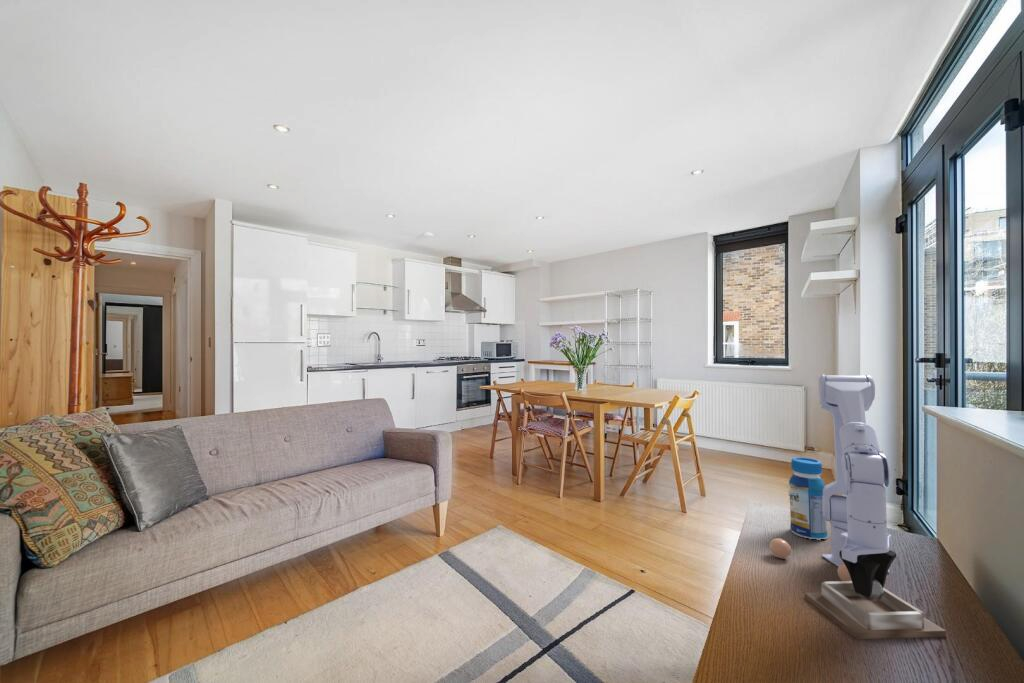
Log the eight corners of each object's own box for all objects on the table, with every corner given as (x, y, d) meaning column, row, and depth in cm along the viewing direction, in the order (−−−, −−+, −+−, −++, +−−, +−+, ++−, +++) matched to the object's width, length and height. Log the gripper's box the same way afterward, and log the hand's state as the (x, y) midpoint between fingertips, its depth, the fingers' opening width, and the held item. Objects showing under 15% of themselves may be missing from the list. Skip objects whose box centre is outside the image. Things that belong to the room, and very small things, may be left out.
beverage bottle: (830, 544, 105) (827, 465, 106) (790, 536, 110) (788, 461, 110) (826, 531, 112) (823, 458, 113) (789, 525, 117) (786, 454, 117)
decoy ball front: (783, 552, 101) (782, 534, 101) (795, 562, 97) (795, 543, 97) (765, 553, 101) (765, 535, 101) (777, 562, 96) (776, 543, 97)
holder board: (882, 595, 83) (881, 578, 83) (946, 636, 71) (945, 616, 71) (804, 597, 83) (804, 580, 83) (855, 639, 71) (854, 618, 71)
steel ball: (858, 591, 80) (858, 568, 80) (887, 603, 76) (887, 578, 76) (848, 596, 78) (848, 572, 78) (877, 608, 74) (878, 583, 74)
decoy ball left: (852, 579, 89) (851, 558, 89) (870, 590, 85) (869, 569, 85) (832, 579, 89) (831, 559, 89) (849, 591, 85) (848, 569, 85)
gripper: (859, 503, 84) (862, 570, 84) (821, 517, 78) (824, 590, 77) (904, 515, 78) (907, 588, 78) (867, 531, 71) (870, 611, 71)
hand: (869, 590), depth 77 cm, fingers closed on steel ball, 4 cm apart
